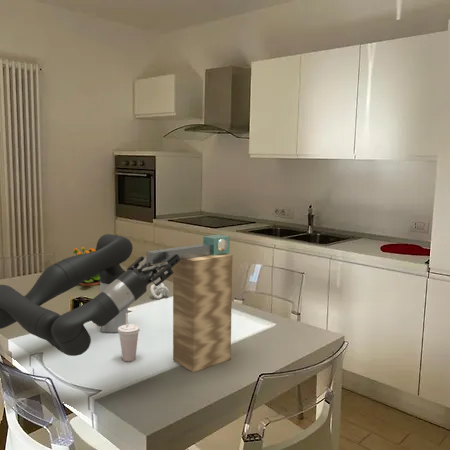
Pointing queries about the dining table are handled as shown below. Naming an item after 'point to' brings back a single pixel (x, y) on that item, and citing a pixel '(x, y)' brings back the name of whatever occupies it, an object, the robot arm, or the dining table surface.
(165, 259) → the bar
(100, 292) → the robot arm
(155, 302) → the dining table surface
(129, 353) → the smoothie
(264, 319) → the dining table surface
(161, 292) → the knot
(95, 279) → the potted flower
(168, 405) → the dining table surface
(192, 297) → the stand
